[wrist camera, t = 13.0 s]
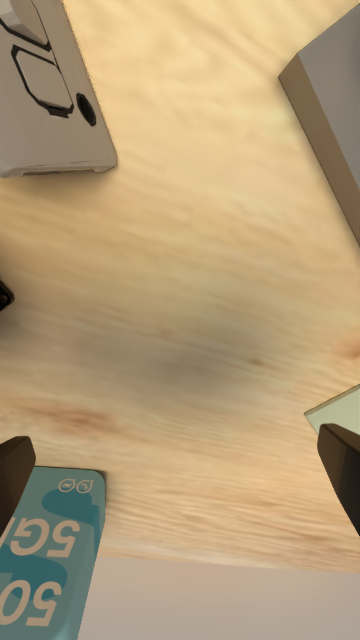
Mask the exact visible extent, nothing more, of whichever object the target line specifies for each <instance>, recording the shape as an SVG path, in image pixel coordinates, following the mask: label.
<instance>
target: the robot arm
mask: <svg viewBox="0 0 360 640" xmlns="http://www.w3.org/2000/svg"><path fill="white" fill-rule="evenodd" d="M3 295H4V296H6V298H7V300H4V299H3ZM13 300H14V297H13V295H12V293H11V292H10V291H9V290H8V289H7V288H6V287H5V286H4V285H3V283H2V282H1V281H0V311H2V310H3V309H4V308H6V307H7V306H8V305H9V304H11V303H12V302H13ZM317 449H318V453H319V456H320V458H321V460H322V463H323V465H324V467H325V470H326V472H327V474H328V477H329V479H330V481H331V484H332V486H333V488H334V491H335V493H336V495H337V497H338V499H339V501H340V503H341V504H342V506H343V508H344V510H345V512H346V513H347V515H348V517H349V519H350V520H351V522H352V524H353V526H354V527H355V529H356V531H357V533H358V535H359V536H360V435H359V434H357V433H354V432H352V431H350V430H348V429H346V428H344V427H342V426H339V425H337V424H335V423H323V424H321V425H320V428H319V435H318V442H317ZM35 462H36V456H35V452H34V449H33V445H32V442H31V439H30V437H28V436H16V437H14V438H12V439H10V440H8V441H6V442H4V443H2V444H0V538H1V536H2V534H3V533H4V531H5V529H6V527H7V525H8V523H9V522H10V520H11V518H12V516H13V514H14V512H15V510H16V508H17V506H18V504H19V502H20V499H21V497H22V494H23V492H24V490H25V487H26V485H27V482H28V480H29V478H30V475H31V473H32V470H33V468H34V466H35Z"/></svg>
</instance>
